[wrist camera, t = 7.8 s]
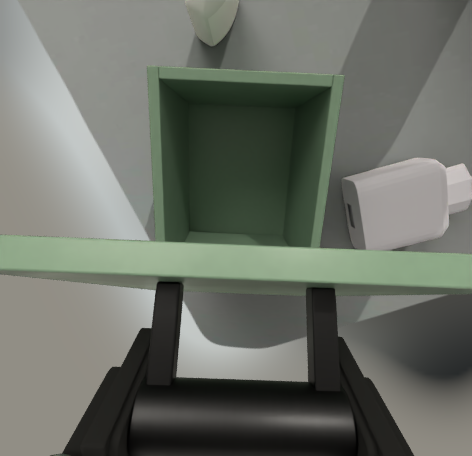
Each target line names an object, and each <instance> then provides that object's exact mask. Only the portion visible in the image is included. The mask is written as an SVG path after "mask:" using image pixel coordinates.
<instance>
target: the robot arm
mask: <svg viewBox="0 0 472 456" xmlns="http://www.w3.org/2000/svg"><path fill="white" fill-rule="evenodd" d="M151 330H152V328H142V329H141V330H140V331H139V333H138V335H137V337H136V339H135V341H134V343H133V345H132V347H131V349H130V350H129V352H128V354H127V356H126V358H125V360H124V362H123V364H122V366H121V367H112V368H111V369H110V370H109V371H108V373H107V374H106V376H105V378H104V380H103V382H102V384H101V385H100V387H99V389H98V390H97V392H96V394H95V396H94V398H93V399H92V401H91V403H90V405H89V406H88V408H87V410H86V412H85V414H84V415H83V417H82V419H81V421H80V422H79V424H78V426H77V428H76V430H75V431H74V433H73V435H72V437H71V438H70V440H69V442H68V444H67V446H66V447H65V449H64V451H63V453H62V454H56V455H51V456H129V455H128V450H127V435H128V426H129V420H130V415H131V410H132V406H133V402H134V399H135V396H136V393H137V391H138V388H139V386H140V384H141V382H142V381H143V379H144V378H146V375H147V366H148V357H149V348H150V339H151ZM338 349H339V368H340V385H341V386H342V387H343V388H344V390H345V391H346V393H347V395H348V397H349V400H350V402H351V405H352V409H353V412H354V416H355V421H356V427H357V435H358V453H357V456H414V455H413V453H412V451H411V449H410V447H409V446H408V444H407V442H406V440H405V439H404V437H403V435H402V433H401V431H400V430H399V428H398V426H397V425H396V423H395V421H394V419H393V417H392V416H391V414H390V412H389V410H388V409H387V407H386V405H385V403H384V401H383V400H382V398H381V396H380V394H379V392H378V391H377V389H376V387H375V386H374V384H373V382H372V381H371V380H370V379H369V378H366V377H364V376H363V374H362V372H361V371H360V369H359V367H358V365H357V363H356V361H355V359H354V358H353V356H352V354H351V352H350V350H349V348H348V346H347V345H346V343H345V341H344V339H343V338H342V337H338Z"/></svg>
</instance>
